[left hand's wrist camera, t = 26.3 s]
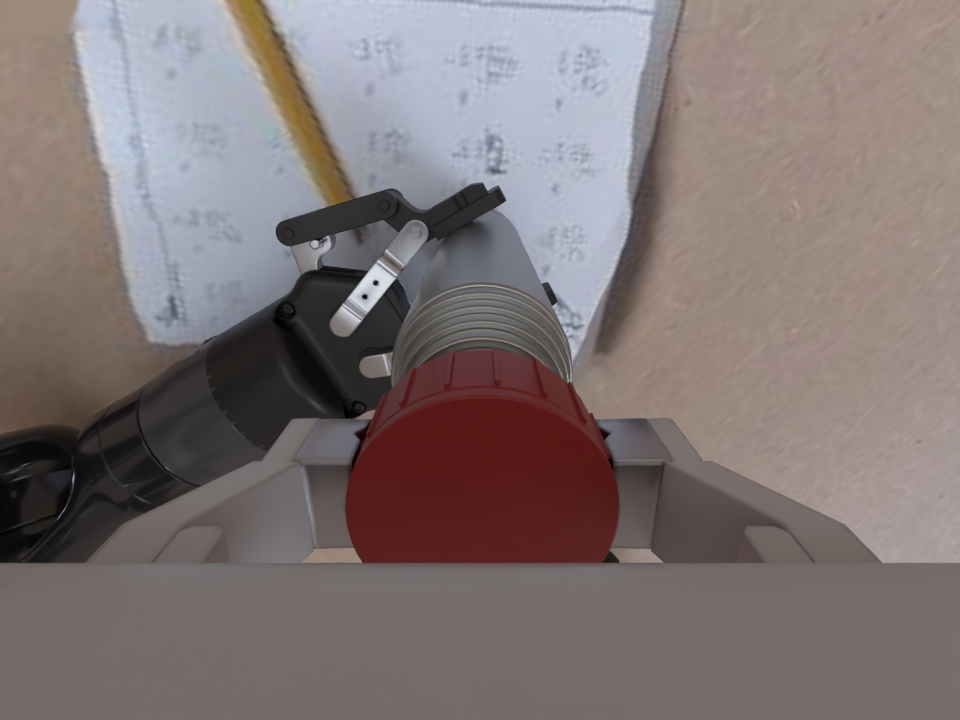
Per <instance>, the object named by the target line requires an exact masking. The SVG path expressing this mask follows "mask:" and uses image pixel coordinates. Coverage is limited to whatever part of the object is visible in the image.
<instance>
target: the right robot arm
mask: <svg viewBox="0 0 960 720" xmlns="http://www.w3.org/2000/svg"><path fill="white" fill-rule="evenodd" d="M505 201H506V199H505V197H504V195H503V193H502V191H501V189H500V187H499V185H498V186H496V187H494V188H492V189H490V190H489V191H487V189H486V187H485V185H484V184H483V182H481V183H474V184H471V185H469V186H467V187H466V188H464V189H462V190H461V191H459V192H457V193H456V194H454V195H452V196H451V197H449V198H447V199H445V200H444V201H442V202H440V203H439V204H437V205H435V206H434V207H432V208H430V209H427V210H420V209H417V208H415V207H414V206H413V205H411V204H410V203H409V202H408V201H407V200H406V199H404V198H403V195H402V194H401V193H400V192H399V191H398V190H396V189H387V190H383V191H380V192H377V193H373V194H370V195H366V196H363V197H360V198H356V199H353V200H350V201H346V202H343V203H340V204H336V205H333V206H330V207H326V208H323V209H319V210H316V211H313V212H309V213H306V214H303V215H299V216H296V217H293V218H290V219H287V220H285V221H282V222H280V223H279V224H278V225H277V227H276V236H277V238H278V240H279V241H280V242H281V243H282V244H284V245H286V246H290V248H291V250H292V253H293V255H294V257H295V260H296V262H297V265H298V267H299V270H300V272H301V274H302V275H301V276H300V277H299V278H298V280H297V282H296V284H295V286H294V288H293V289H292V291H291V292H290V293H289V294H287V295H286V296H284V297H282V298H281V299H279V300H277V301H276V302H274V303H272V304H271V305H269V306H267V307H265V308H264V309H262V310H260V311H259V312H257V313H255V314H254V315H252V316H250V317H249V318H247V319H245V320H244V321H242V322H240V323H239V324H237V325H235V326H233V327H232V328H230V329H228V330H227V331H225V332H224V333H222V334H220V335H217V336H214V337H212V338H210V339H208V340H206V341H205V342H204V343H203V344H202V345H201V346H200V347H198V348H196V349H195V350H193V351H191V352H190V353H188V354H186V355H185V356H183V357H182V358H180V359H179V360H178V361H176V362H175V363H174V364H173V365H171V366H170V367H169V368H168V369H167V370H165V371H164V372H163V373H162V374H161V375H159V376H158V377H156V378H155V379H154V380H152V381H150V382H149V383H147V384H145V385H144V386H142V387H140V388H139V389H137V390H135V391H133V392H132V393H130V394H128V395H127V396H125V397H123V398H122V399H120V400H118V401H116V402H114V403H113V404H111V405H109V406H108V407H106V408H105V409H103V410H101V411H100V412H98V413H97V414H96V415H95V416H93V417H92V418H91V419H90V420H89V421H88V422H87V423H86V424H85V425H84V426H83V427H82V429H81V430H79V429H77V428H73V427H70V426H65V425H40V426H34V427H29V428H24V429H20V430H16V431H11V432H7V433H3V434H0V563H85V562H86V561H87V560H88V559H89V558H90V557H91V556H92V555H93V554H94V553H95V552H96V551H97V550H98V548H99V547H100V546H101V545H102V544H103V543H104V542H105V541H106V540H107V539H108V538H109V537H110V536H111V535H112V534H113V533H114V532H115V531H116V530H117V529H118V528H119V527H120V526H121V525H122V524H123V523H126V522H128V521H130V520H132V519H134V518H136V517H138V516H140V515H142V514H144V513H146V512H149V511H151V510H153V509H155V508H157V507H159V506H161V505H163V504H165V503H167V502H169V501H171V500H174V499H176V498H178V497H180V496H182V495H184V494H186V493H188V492H190V491H192V490H194V489H197V488H199V487H201V486H203V485H205V484H207V483H209V482H211V481H213V480H215V479H217V478H219V477H222V476H224V475H226V474H228V473H230V472H232V471H234V470H236V469H238V468H240V467H242V466H245V465H247V464H249V463H251V462H253V461H262V460H263V458H264V457H265V456H266V454H267V453H268V451H269V450H270V449H271V447H272V446H273V444H274V443H275V442H276V440H277V439H278V438H279V436H280V435H281V433H282V432H283V431H284V429H285V428H286V427H287V425H288V424H289V422H290V421H291V420H292V419H299V418H320V419H355V418H357V417H359V416H360V415H362V414H364V413H366V412H368V411H371V410H376V409H377V406H378V404H379V401H380V399H381V397H382V395H383V394H385V395H387V394H388V392H389V391H390V390H391V388H392V384H391V366H392V354H393V348H394V344H395V341H396V338H397V336H398V333H399V331H400V329H401V327H402V324H403V322H404V320H405V318H406V316H407V314H408V311H409V309H410V305H409V303H408V300H407V296H406V293H405V291H404V289H403V287H402V286H401V284H400V283H399V281H398V279H396V278H397V277H398V275H399V274H400V273H401V272H402V270H403V269H404V268H405V266H406V265H407V264H408V263H409V261H410V260H411V259H412V258H413V257H414V255H415V254H416V253H417V252H418V250H419V249H420V248H421V247H422V245H423V244H424V243H426V242H428V241H429V240H431V239H433V238H435V237H436V238H437V240H438V241H439V240H440V239H442V238H444V237H446V236H447V235H449V234H451V233H452V232H454V231H455V230H457V229H459V228H461V227H463V226H465V225H466V224H468V223H470V222H471V221H473V220H475V219H477V218H478V217H480V216H482V215H483V214H485V213H487V212H489V211H490V210H492V209H494V208H496V207H497V206H499V205H501V204H502V203H504V202H505ZM381 220H385V221H386V222H387V223H388V224H389V225H391V226H392V227H393V228H394V229H395V230H397V231H398V232H399V234H398V235H397V236H396V237H395V239H394V240H393V241H392V242H391V244H390V245H389V246H388V248H387V249H386V250H385V251H384V253H383V254H382V255H381V256H380V257H379V259H378V260H377V261H376V262H375V264H374V265H373V266H372V267H371V269H370V270H369V271H365V270H357V269H348V268H339V267H330V266H323V263H322V259H323V256H324V254H325V253H327V252H328V251H330V250H331V249H333V248H334V246H335V244H336V237H335V234H336V233H340V232H343V231H346V230H350V229H353V228H357V227H360V226H364V225H367V224H370V223H374V222H377V221H381ZM395 279H396V280H395ZM542 286H543V288H544V290H545V292H546V294H547V297H548V299H549V301H550V303H551V305H552V306H553V305H554V304H555V303H556V302H557V301H558V300H557V298H556V296H555V294H554V292H553V290H552V288H551V287H550V285H549V283H548V282H546V283H543V284H542Z"/></svg>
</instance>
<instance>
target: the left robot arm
mask: <svg viewBox="0 0 960 720" xmlns="http://www.w3.org/2000/svg"><path fill="white" fill-rule="evenodd" d="M371 421H372V420H371V419H320V418H299V419H292V420H291V421H290V422H289V424H288V425H287V427H286V428H285V429H284V431H283V432H282V433H281V435H280V436H279V438H278V439H277V440H276V442H275V443H274V444H273V446H272V447H271V449H270V450H269V451H268V453H267V454H266V456H265V457H264V458H263V460H262V461H253V462H251V463H249V464H247V465H245V466H242V467H240V468H238V469H236V470H234V471H232V472H230V473H228V474H226V475H224V476H222V477H219V478H217V479H215V480H213V481H211V482H209V483H207V484H205V485H203V486H201V487H199V488H197V489H194V490H192V491H190V492H188V493H186V494H184V495H182V496H180V497H178V498H176V499H174V500H171V501H169V502H167V503H165V504H163V505H161V506H159V507H157V508H155V509H153V510H151V511H149V512H146V513H144V514H142V515H140V516H138V517H136V518H134V519H132V520H130V521H128V522H126V523H123V524H122V525H121V526H120V527H119V528H118V529H117V530H116V531H115V532H114V533H113V534H112V535H111V536H110V537H109V538H108V539H107V540H106V541H105V542H104V543H103V544H102V545H101V546H100V547H99V548H98V550H97V551H96V552H95V553H94V554H93V555H92V556H91V557H90V558H89V559H88V560H87V561H86V562H85V563H0V720H960V563H882V562H881V561H880V560H879V559H878V558H877V557H876V556H875V555H874V554H873V553H872V552H871V551H870V550H869V549H868V548H867V547H866V546H865V545H864V544H863V543H862V542H861V541H860V540H859V539H858V537H857V536H856V535H855V534H854V533H853V532H852V531H851V530H850V529H849V528H848V527H847V526H846V525H844V524H842V523H840V522H838V521H836V520H834V519H832V518H830V517H828V516H826V515H823V514H821V513H819V512H817V511H815V510H813V509H811V508H809V507H807V506H805V505H802V504H800V503H798V502H796V501H794V500H792V499H790V498H788V497H786V496H784V495H781V494H779V493H777V492H775V491H773V490H771V489H769V488H767V487H765V486H763V485H760V484H758V483H756V482H754V481H752V480H750V479H748V478H746V477H744V476H742V475H739V474H737V473H735V472H733V471H731V470H729V469H727V468H725V467H723V466H721V465H718V464H716V463H714V462H712V461H703V460H702V458H701V457H700V456H699V454H698V453H697V452H696V450H695V449H694V448H693V446H692V445H691V444H690V442H689V441H688V440H687V438H686V437H685V436H684V434H683V433H682V432H681V430H680V429H679V428H678V426H677V425H676V424H675V422H674V421H673V420H672V419H670V418H654V419H645V418H638V419H595V421H596V423H597V425H598V428H599V430H600V432H601V435H602V437H603V439H604V442H605V444H606V446H607V448H608V451H609V453H610V456H611V458H608V461H609V463H610V466H611V468H612V471H613V473H614V476H615V479H616V482H617V487H618V491H619V499H620V514H619V523H618V528H617V531H616V535H615V538H614V541H613V543H612V546H611V548H640V549H651V551H652V552H653V553H654V554H655V555H656V556H657V557H659V558H660V559H661V560H662V561H663V562H664V563H301V562H302V561H303V560H304V559H305V558H306V557H307V556H309V555H310V554H311V553H312V552H313V549H324V548H354V546H353V544H352V542H351V538H350V535H349V532H348V528H347V523H346V515H345V497H346V492H347V487H348V482H349V479H350V476H351V474H352V471H353V468H354V466H355V463H356V461H357V458H358V456H359V453H360V451H361V442H362V440H363V439H366V433H367V431H368V428H369V426H370V423H371Z"/></svg>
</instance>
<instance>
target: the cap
mask: <svg viewBox="0 0 960 720" xmlns="http://www.w3.org/2000/svg"><path fill="white" fill-rule="evenodd" d="M608 458H611V456H610V453H609V451H608V448H607V446H606V444H605V442H604V439H603V437H602V435H601V432H600V430H599V428H598V425H597V423H596V421H595V418H594V416H593V414H592V413H590V414H589V413H588V411H587V409H586V407H585V405H584V404H583V402H582V400H581V398H580V397H579V396H578V394H577V393H576V391H575V389H574V386H573V384H572V383H571V382H569V383H567V382H566V381H565V380H564V379H563V378H562V377H561V376H559V375H558V374H556V373H555V372H554V371H552V370H551V369H550V368H548V367H546V366H544V365H542V364H540V361H539V360H538V359H535V360H532V359H529V358H527V357H524V356H521V355H518V354H514V353H509V352H505V351H498V349H497V348H493V350H468V351H460V352H455V353H454V351H450V352H449V354H447V355H443V356H440V357H438V358H435V359H433V360H430V361H428V362H426V363H424V364H422V365H420V366H419V367H417V368H414V367H412V368H411V369H410V370H409V373H408V374H407V375H405V376H404V377H403V378H402V379H401V380H400V381H398V382H397V383H396V384H395V385H394V386H393V387H392V388H391V390H390V391H389V392H388V394H387V395H385V394H383V395H382V397H381V399H380V401H379V404H378V406H377V409H376V411H375V414H374V416H373V418H372V421H371V423H370V426H369V428H368V431H367V433H366V439H363V440H362V442H361V451H360V453H359V456H358V458H357V461H356V463H355V466H354V468H353V471H352V474H351V476H350V479H349V482H348V487H347V492H346V497H345V515H346V523H347V528H348V532H349V535H350V538H351V542H352V544H353V546H354V548H355V550H356V552H357V554H358V556H359V558H360V559H361V561H362V562H363V563H602V562H603V560H604V559H605V557H606V556H607V554H608V552H609V550H610V548H611V546H612V543H613V541H614V538H615V535H616V531H617V528H618V523H619V514H620V499H619V491H618V487H617V482H616V479H615V476H614V473H613V471H612V468H611V466H610V463H609V461H608Z"/></svg>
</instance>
